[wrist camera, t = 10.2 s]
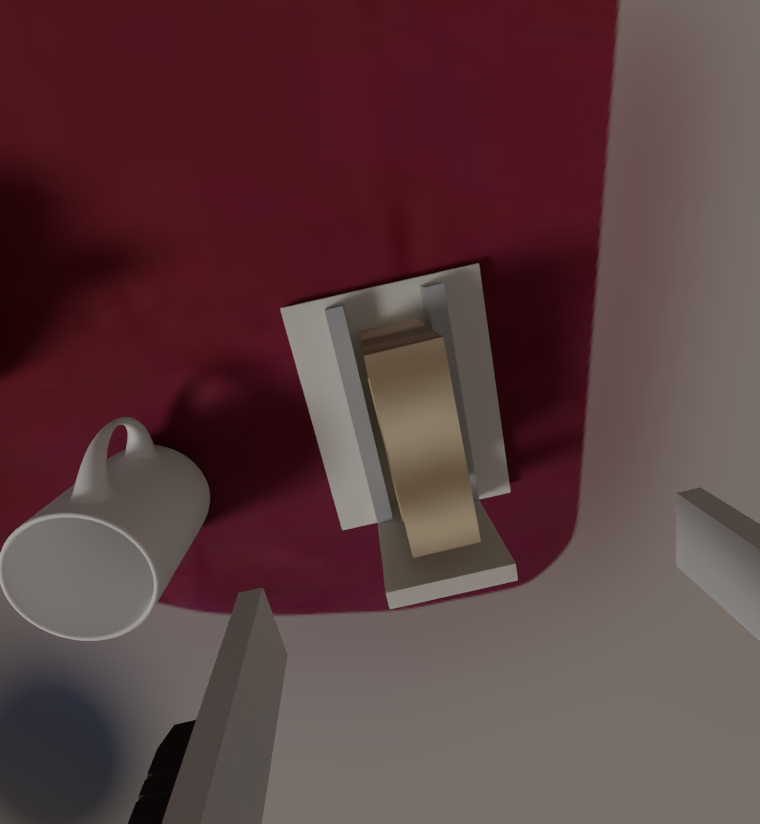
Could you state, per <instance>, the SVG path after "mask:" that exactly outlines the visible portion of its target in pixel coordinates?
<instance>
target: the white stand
mask: <svg viewBox="0 0 760 824" xmlns="http://www.w3.org/2000/svg"><path fill="white" fill-rule="evenodd" d="M280 310H281V313H282V317H283V321H284V324H285V328H286V331H287V335H288V338H289V342H290V346H291V349H292V353H293V356H294V360H295V363H296V367H297V370H298V374H299V378H300V381H301V385H302V388H303V392H304V395H305V399H306V403H307V406H308V410H309V413H310V417H311V420H312V424H313V428H314V431H315V435H316V438H317V442H318V445H319V449H320V452H321V456H322V460H323V463H324V467H325V470H326V474H327V477H328V481H329V485H330V488H331V492H332V495H333V499H334V502H335V506H336V510H337V513H338V517H339V520H340V524H341V527H342V530H346V529H351V528H355V527H359V526H364V525H368V524H373V523H378V530H379V539H380V548H381V557H382V565H383V574H384V583H385V592H386V596H387V600H388V604H389V608H390V609H393V608H398V607H402V606H406V605H411V604H415V603H420V602H424V601H429V600H433V599H437V598H442V597H446V596H451V595H455V594H460V593H464V592H468V591H473V590H477V589H482V588H486V587H491V586H495V585H499V584H504V583H508V582H513V581H517V580H518V578H517V571H516V564H515V562H514V560H513V558H512V557H511V555H510V553H509V551H508V550H507V548H506V546H505V544H504V543H503V541H502V539H501V537H500V536H499V534H498V532H497V530H496V529H495V527H494V525H493V524H492V522H491V520H490V518H489V517H488V515H487V513H486V511H485V510H484V508H483V506H482V504H481V503H480V501H479V499H483V498H488V497H492V496H496V495H501V494H505V493H510V492H511V491H510V484H509V477H508V470H507V462H506V455H505V448H504V441H503V433H502V426H501V419H500V412H499V404H498V397H497V390H496V383H495V376H494V368H493V361H492V354H491V347H490V339H489V332H488V325H487V318H486V310H485V303H484V296H483V289H482V281H481V274H480V267H479V263H478V264H471V265H467V266H462V267H458V268H453V269H449V270H445V271H440V272H436V273H432V274H427V275H423V276H418V277H414V278H410V279H405V280H401V281H396V282H392V283H388V284H383V285H379V286H374V287H370V288H366V289H361V290H357V291H352V292H348V293H344V294H339V295H335V296H330V297H326V298H322V299H317V300H313V301H308V302H304V303H300V304H295V305H291V306H286V307H282V308H280ZM414 317H415V318H416V319H418V320H419V321H420V322H422V323H423V324H425V325H426V326H428V327H429V328H431V329H432V330H434V331H435V332H437V333H438V334H440V335H441V336H443V338H444V344H445V349H446V355H447V360H448V366H449V371H450V376H451V382H452V387H453V393H454V398H455V404H456V409H457V414H458V420H459V425H460V431H461V436H462V442H463V447H464V452H465V458H466V463H467V469H468V474H469V480H470V485H471V490H472V496H473V501H474V507H475V512H476V518H477V523H478V528H479V534H480V539H481V542H478V543H474V544H470V545H466V546H462V547H457V548H453V549H449V550H445V551H441V552H436V553H432V554H428V555H424V556H420V557H415V558H413V556H412V552H411V548H410V544H409V540H408V536H407V532H406V527H405V523H404V521H402V517H401V513H400V509H399V505H398V500H397V496H396V492H395V488H394V484H393V480H392V476H391V472H390V468H389V464H388V460H387V456H386V452H385V447H384V443H383V439H382V435H381V431H380V427H379V423H378V419H377V415H376V411H375V407H374V403H373V398H372V394H371V390H370V386H369V382H368V378H367V372H366V366H365V361H364V355H363V349H362V343H361V338H360V332H359V331H360V330H364V329H369V328H373V327H377V326H381V325H385V324H389V323H394V322H398V321H402V320H406V319H410V318H414Z"/></svg>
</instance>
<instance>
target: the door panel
mask: <svg viewBox="0 0 760 824" xmlns="http://www.w3.org/2000/svg"><path fill="white" fill-rule="evenodd" d="M359 332H360V338H361V343H362V349H363V355H364V361H365V366H366V372H367V378H368V382H369V386H370V390H371V394H372V398H373V403H374V407H375V411H376V415H377V419H378V423H379V427H380V431H381V435H382V439H383V443H384V447H385V452H386V456H387V460H388V464H389V468H390V472H391V476H392V480H393V484H394V488H395V492H396V496H397V500H398V505H399V509H400V513H401V517H402V521H404V523H405V527H406V532H407V536H408V540H409V544H410V548H411V552H412V556H413V558H415V557H420V556H424V555H428V554H432V553H436V552H441V551H445V550H449V549H453V548H457V547H462V546H466V545H470V544H474V543H478V542H481V539H480V534H479V528H478V523H477V518H476V512H475V507H474V501H473V496H472V490H471V485H470V480H469V474H468V469H467V463H466V458H465V452H464V447H463V442H462V436H461V431H460V425H459V420H458V414H457V409H456V404H455V398H454V393H453V387H452V382H451V376H450V371H449V366H448V360H447V355H446V349H445V344H444V338H443V336H441V335H440V334H438V333H437V332H435V331H434V330H432V329H431V328H429V327H428V326H426V325H425V324H423V323H422V322H420V321H419V320H418V319H416V318H415V317H414V318H410V319H406V320H402V321H398V322H394V323H389V324H385V325H381V326H377V327H373V328H369V329H364V330H360V331H359Z"/></svg>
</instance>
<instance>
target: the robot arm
mask: <svg viewBox="0 0 760 824" xmlns="http://www.w3.org/2000/svg"><path fill="white" fill-rule="evenodd" d="M676 500H677V501H676V505H677V512H676V515H677V517H676V522H677V523H676V529H677V530H676V538H677V539H676V548H677V549H676V566H677V567H678V568H679V569H681V570H682V571H683V572H684V573H685V574H686V575H687V576H688V577H689V578H691V579H692V580H693V581H694V582H695V583H696V584H698V586H699V587H701V588H702V589H703V590H704V591H705V592H706V593H707V594H708V595H709V596H711V597H712V598H713V599H714V600H715V601H716V602H717V603H718V604H720V605H721V606H722V607H723V608H724V609H725V610H726V611H727V612H728V613H729V614H731V615H732V616H733V617H734V618H735V619H736V620H737V621H738V622H739V623H741V624H742V625H743V626H744V627H745V628H746V629H747V630H748V631H749V632H750V633H752V634H753V635H754V636H755V637H756V638H757V639H758V640H759V641H760V524H759V523H757V522H755V521H754V520H752V519H751V518H749V517H747V516H745V515H744V514H742V513H740V512H739V511H738V510H736V509H734V508H733V507H731V506H730V505H728V504H726V503H725V502H723V501H722V500H720V499H718V498H717V497H715V496H713V495H712V494H710V493H709V492H707V491H705V490H704V489H702V488H697V489H692V490H688V491H684V492H679V493H677V498H676ZM286 661H287V652H286V649H285V646H284V644H283V641H282V638H281V636H280V633H279V630H278V627H277V625H276V622H275V619H274V617H273V614H272V611H271V608H270V606H269V603H268V600H267V598H266V595H265V592H264V589H263V588H258V589H254V590H250V591H245V592H241V593H238V596H237V599H236V602H235V605H234V608H233V611H232V614H231V618H230V620H229V623H228V627H227V630H226V633H225V636H224V638H223V641H222V644H221V647H220V650H219V653H218V656H217V659H216V662H215V665H214V668H213V671H212V674H211V677H210V680H209V684H208V686H207V689H206V692H205V695H204V698H203V701H202V704H201V707H200V710H199V713H198V716H197V719H196V720H194V721H189V722H185V723H181V724H176V725H174V726H173V728H172V729H171V730H170V732H169V733H168V735H167V736H166V738H165V739H164V740H163V742H162V743H161V744H160V746H159V747H158V749H157V751H156V754H155V756H154V759H153V761H152V764H151V766H150V769H149V771H148V774H147V780H145V781H144V784H143V786H142V789H141V792H140V794H139V801H138V802H136V804H135V807H134V809H133V812H132V814H131V817H130V819H129V822H128V824H261V823H262V816H263V810H264V803H265V797H266V791H267V784H268V778H269V771H270V765H271V758H272V752H273V745H274V739H275V732H276V726H277V719H278V713H279V706H280V700H281V693H282V686H283V680H284V674H285V667H286Z"/></svg>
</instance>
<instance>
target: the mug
mask: <svg viewBox="0 0 760 824" xmlns="http://www.w3.org/2000/svg"><path fill="white" fill-rule="evenodd" d="M121 424H122V425H125V426H126V428H127V431H128V441H127V446H126V449H125V450H122V451H120V452H118V453H116V454H115V455H113V456H111V457H110V458H108V459H107V449H108V444H109V440H110V437H111V434H112V432H113V430H114V429H115V428H116V427H117V426H118V425H121ZM209 505H210V490H209V486H208V483H207V481H206V478H205V477H204V475H203V473H202V471H201V470H200V469H199V467H198V466H197V465H196V464H195V463H194V462H193V461H192V460H190V459H189V458H188V457H187V456H185V455H183V454H182V453H180V452H178V451H176V450H173V449H170V448H168V447H163V446H159V445H154V444H153V441H152V439H151V437H150V435H149V433H148V431H147V429H146V428H145V427H144V426H143V425H142V424H141V423H140V422H139V421H138V420H136V419H134V418H130V417H122V418H118V419H115V420H114V421H112V422H110V423H109V424H107V425H106V426H105V427H104V428H102V429H101V430H100V431H99V433H98V434H97V435H96V436H95V438H94V439H93V441H92V442H91V444H90V445H89V447H88V449H87V451H86V454H85V456H84V458H83V461H82V464H81V466H80V470H79V473H78V476H77V479H76V483H75V484H74V485H73V486H72V487H71V488H69V489H68V490H67V491H65V492H64V493H63V494H61V495H60V496H59V497H57V498H56V499H55V500H54V501H52V502H51V503H50V504H48V505H47V506H46V507H44V508H43V509H42V510H41V511H39V512H38V513H37V514H35V515H34V516H33V517H31V518H30V519H29V520H28V521H26V522H25V523H24V524H22V525H21V526H20V527H18V528H17V529H16V530H15V531H14V532H13V533H12V534H11V535H10V536H9V537H8V539H7V540H6V542H5V543H4V545H3V548H2V550H1V552H0V584H1V587H2V589H3V591H4V594H5V596H6V597H7V599H8V600H9V602H10V603H11V605H12V606H13V607H14V608H15V610H16V611H17V612H18V613H20V614H21V615H22V616H23V617H24V618H25V619H27V620H28V621H29V622H30V623H32V624H34V625H35V626H37V627H39V628H40V629H43V630H45V631H47V632H49V633H51V634H54V635H57V636H60V637H64V638H68V639H74V640H84V641H96V640H105V639H110V638H114V637H117V636H120V635H122V634H125V633H127V632H129V631H131V630H133V629H134V628H135V627H137V626H138V625H140V624H141V623H142V622H143V621H144V620H145V619H146V618H147V617H148V616H149V614H150V613H151V612H152V610H153V608H154V607H155V605H156V603H157V602H158V600H159V598H160V596H161V595H162V593H163V591H164V590H165V588H166V586H167V585H168V583H169V581H170V579H171V578H172V576H173V574H174V573H175V571H176V569H177V567H178V566H179V564H180V562H181V561H182V559H183V557H184V555H185V554H186V552H187V550H188V549H189V547H190V545H191V543H192V542H193V540H194V538H195V537H196V535H197V533H198V532H199V530H200V528H201V526H202V524H203V523H204V521H205V519H206V516H207V513H208V510H209Z"/></svg>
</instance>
